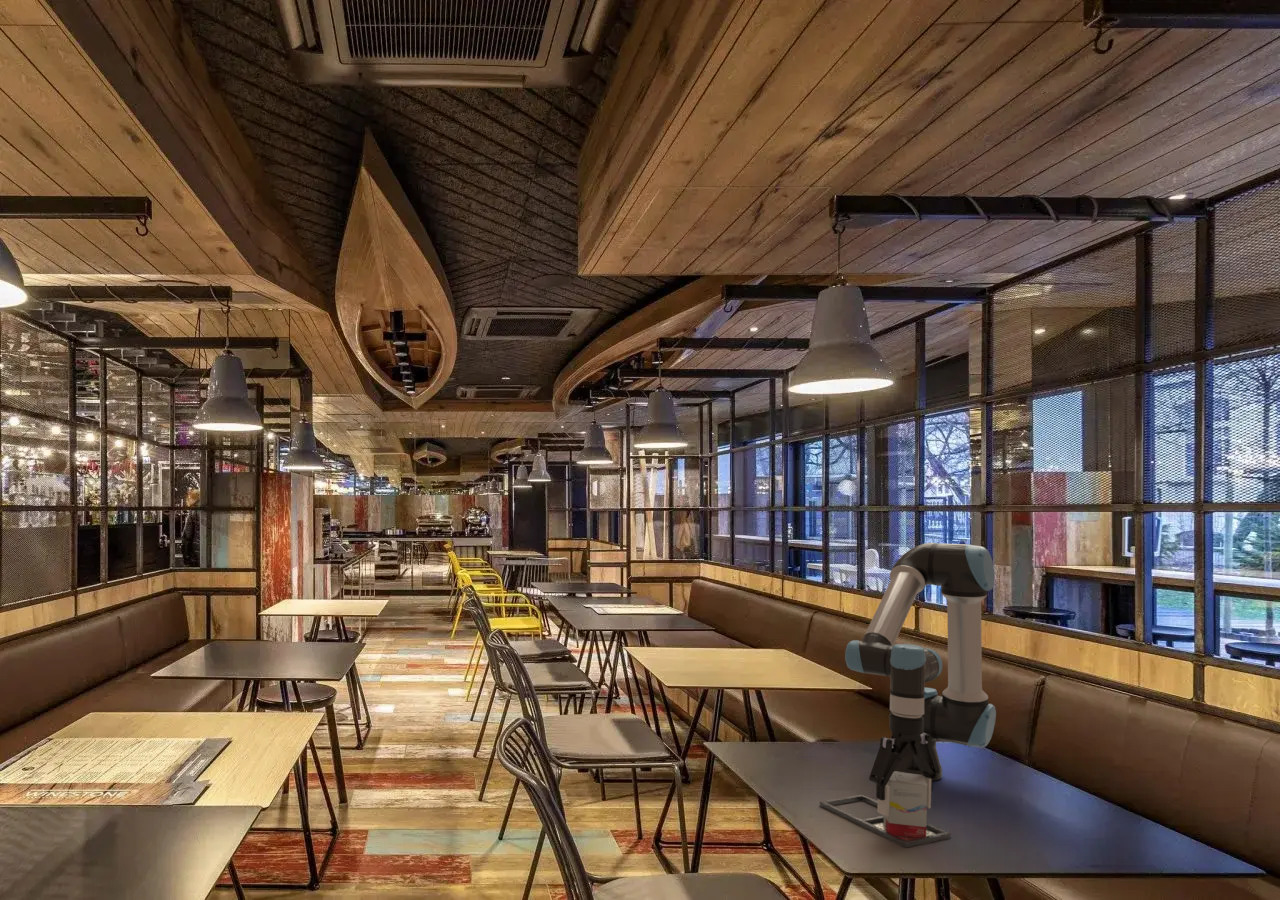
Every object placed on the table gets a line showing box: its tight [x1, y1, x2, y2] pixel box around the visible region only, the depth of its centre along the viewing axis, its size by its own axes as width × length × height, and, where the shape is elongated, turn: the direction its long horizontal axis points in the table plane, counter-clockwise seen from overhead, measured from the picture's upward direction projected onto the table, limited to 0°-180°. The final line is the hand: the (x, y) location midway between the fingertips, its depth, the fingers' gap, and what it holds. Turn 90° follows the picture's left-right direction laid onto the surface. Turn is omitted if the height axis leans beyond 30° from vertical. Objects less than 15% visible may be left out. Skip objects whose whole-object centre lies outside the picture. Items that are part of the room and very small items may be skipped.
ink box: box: [883, 771, 928, 838], centre depth 186 cm, size 9×9×12 cm
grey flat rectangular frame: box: [819, 794, 951, 849], centre depth 191 cm, size 14×27×1 cm, turn 30°
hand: (904, 810), depth 186 cm, fingers open, 13 cm apart
